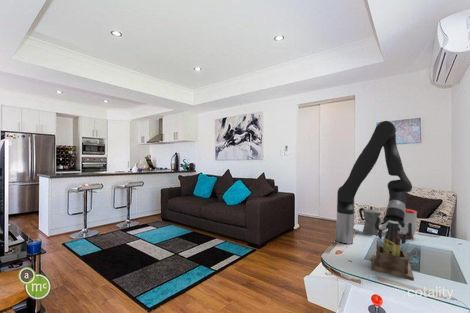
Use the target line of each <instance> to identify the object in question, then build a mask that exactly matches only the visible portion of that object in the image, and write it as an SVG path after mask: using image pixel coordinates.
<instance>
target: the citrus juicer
mask: <svg viewBox="0 0 470 313" xmlns="http://www.w3.org/2000/svg"><path fill="white" fill-rule="evenodd" d="M417 215H418V211H417V210H414V209H411V208H410V209H409V208H406V207H405V217H404V223H407V224H409V223H411V224H412V237H406V239H412V238H413V237H414V236H415V233H416V229H417V221H418V220H417ZM403 229H404V231H405V232H406V233H408V228H406V226H404V227H403ZM398 235H399V236H400V238H402V234H401V233H400V232H399V230H398Z"/></svg>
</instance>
